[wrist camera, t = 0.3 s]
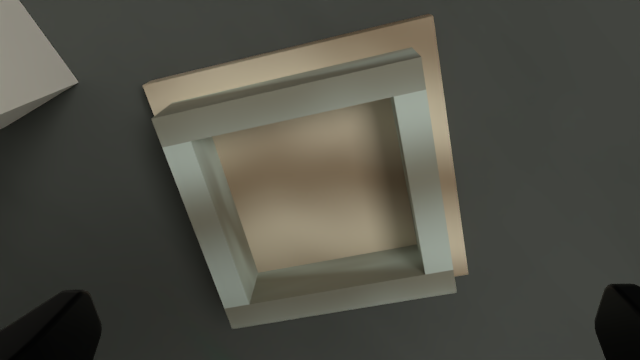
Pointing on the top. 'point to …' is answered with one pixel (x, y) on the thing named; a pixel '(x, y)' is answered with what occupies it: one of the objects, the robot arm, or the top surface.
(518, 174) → the top surface
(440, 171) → the jig
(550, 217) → the top surface
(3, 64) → the fuselage block
